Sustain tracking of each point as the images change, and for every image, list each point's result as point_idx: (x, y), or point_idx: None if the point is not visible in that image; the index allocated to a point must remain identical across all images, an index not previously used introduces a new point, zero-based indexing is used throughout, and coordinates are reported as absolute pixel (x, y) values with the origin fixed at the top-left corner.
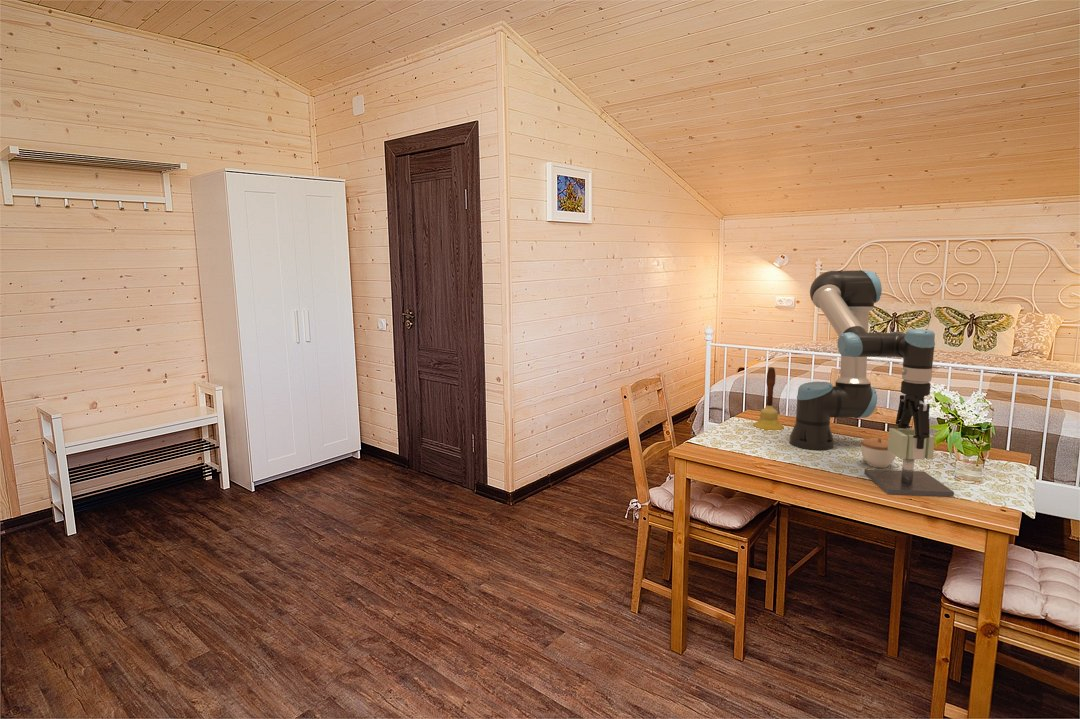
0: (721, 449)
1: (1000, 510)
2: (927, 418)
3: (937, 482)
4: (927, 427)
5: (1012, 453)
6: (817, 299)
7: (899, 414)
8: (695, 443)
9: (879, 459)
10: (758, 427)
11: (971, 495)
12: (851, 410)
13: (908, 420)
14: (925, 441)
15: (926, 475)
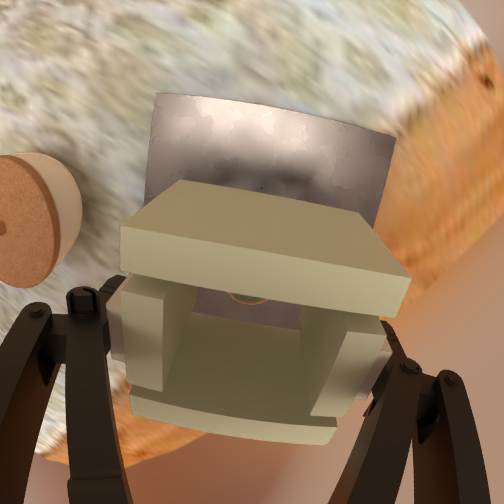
0: (54, 445)
1: (487, 90)
2: (479, 498)
3: (293, 122)
4: (468, 437)
5: None
6: None
7: (40, 424)
8: (40, 452)
9: (77, 233)
10: None
11: (379, 61)
12: None
13: (107, 386)
14: (373, 316)
15: (206, 112)
